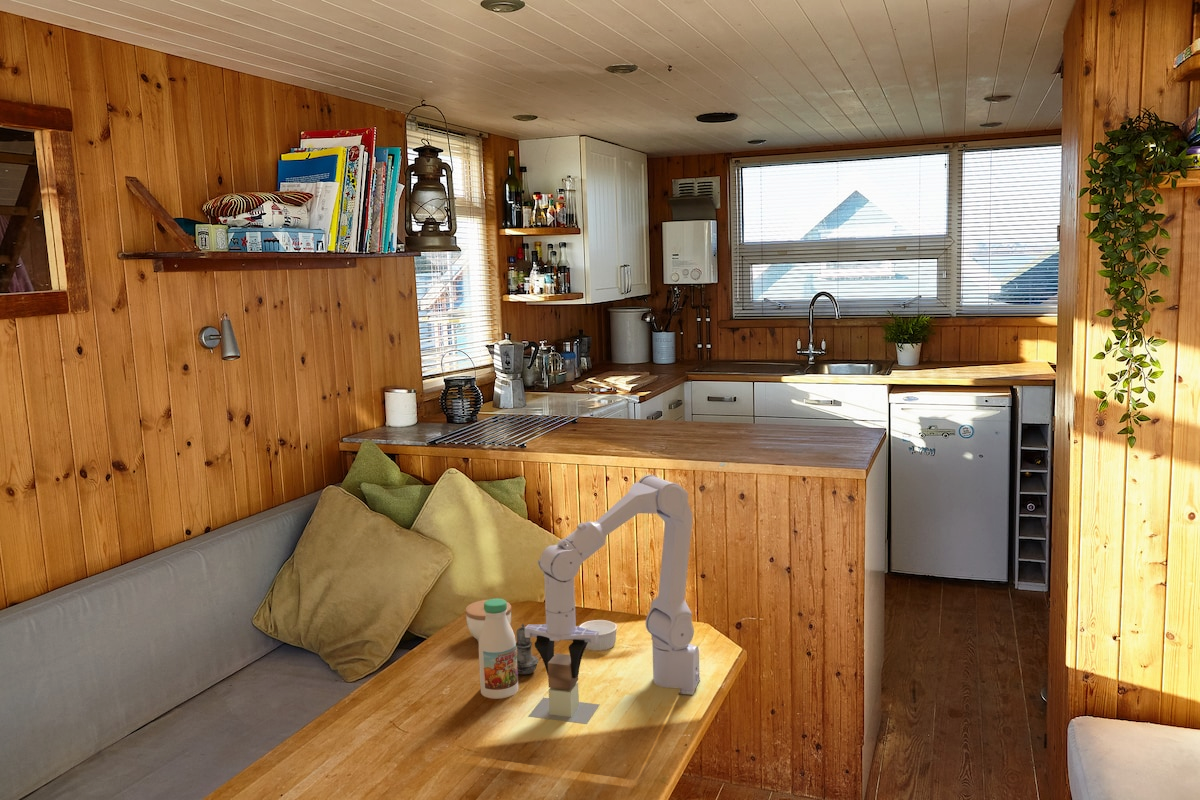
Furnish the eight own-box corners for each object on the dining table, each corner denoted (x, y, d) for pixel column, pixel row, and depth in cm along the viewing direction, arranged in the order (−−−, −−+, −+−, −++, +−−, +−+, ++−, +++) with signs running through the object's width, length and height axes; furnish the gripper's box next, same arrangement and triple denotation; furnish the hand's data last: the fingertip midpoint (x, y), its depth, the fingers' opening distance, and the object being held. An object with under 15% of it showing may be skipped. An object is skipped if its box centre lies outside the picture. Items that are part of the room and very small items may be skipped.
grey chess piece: (535, 683, 198) (532, 629, 196) (508, 681, 199) (505, 628, 197) (542, 671, 204) (539, 618, 202) (516, 669, 205) (513, 617, 203)
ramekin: (574, 650, 214) (573, 632, 213) (585, 635, 223) (585, 617, 222) (611, 654, 212) (610, 636, 211) (621, 638, 220) (621, 621, 219)
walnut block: (578, 679, 184) (577, 655, 184) (570, 690, 180) (569, 665, 179) (556, 677, 186) (555, 653, 185) (548, 687, 182) (547, 663, 181)
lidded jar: (521, 634, 224) (520, 597, 222) (493, 651, 215) (491, 612, 213) (486, 626, 229) (484, 589, 228) (457, 642, 221) (455, 604, 219)
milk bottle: (473, 698, 192) (468, 605, 189) (494, 683, 199) (490, 592, 196) (505, 706, 188) (500, 611, 185) (525, 690, 195) (521, 598, 192)
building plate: (599, 709, 186) (599, 704, 186) (587, 728, 178) (586, 723, 178) (543, 702, 189) (543, 697, 189) (528, 721, 182) (528, 716, 182)
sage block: (578, 706, 185) (578, 682, 184) (571, 717, 181) (570, 692, 180) (557, 703, 186) (556, 679, 186) (549, 714, 182) (548, 690, 182)
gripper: (517, 612, 179) (520, 679, 181) (589, 618, 175) (591, 687, 177) (531, 599, 186) (534, 664, 188) (601, 605, 181) (603, 671, 183)
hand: (562, 674), depth 183 cm, fingers closed on walnut block, 4 cm apart
